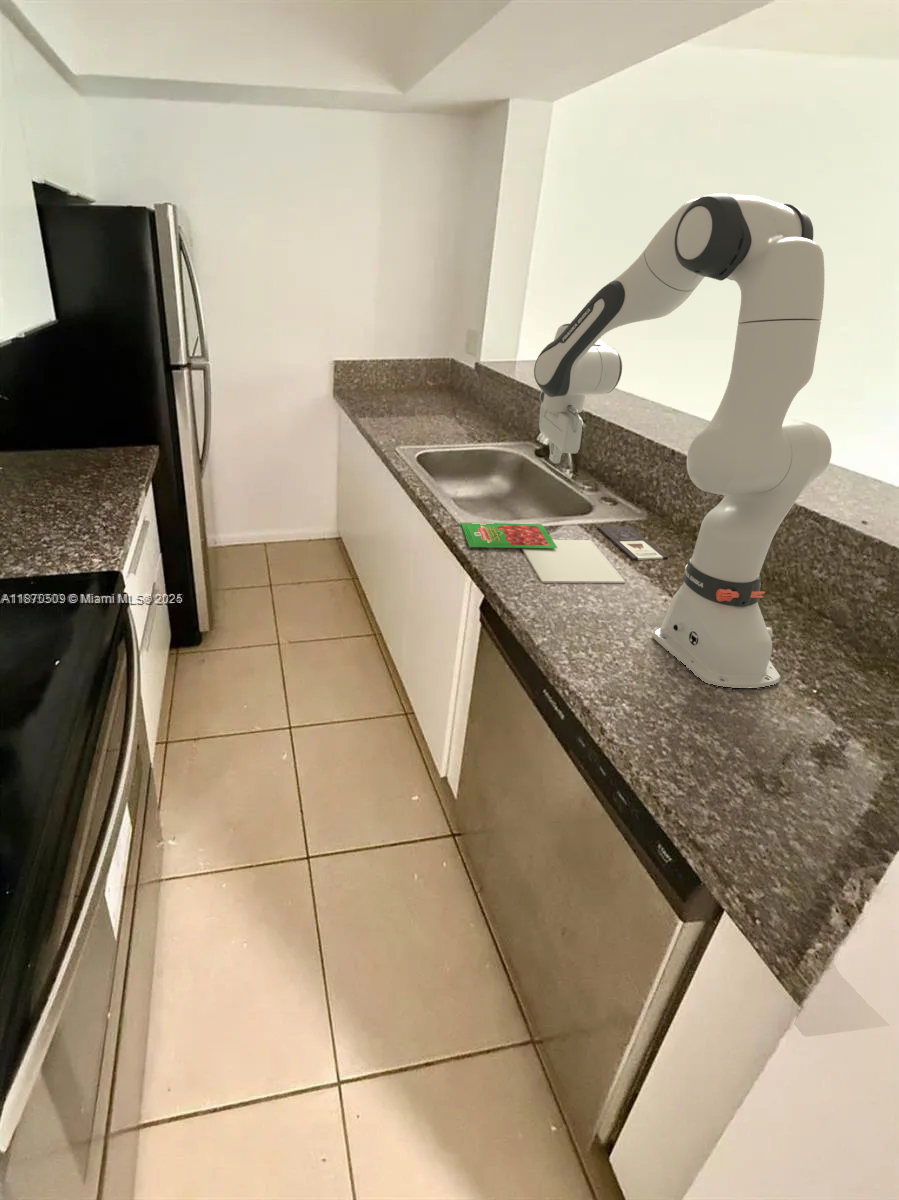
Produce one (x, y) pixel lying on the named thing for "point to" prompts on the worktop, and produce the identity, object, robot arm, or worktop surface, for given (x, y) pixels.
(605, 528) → the chocolate bar
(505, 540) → the tomato puree packet
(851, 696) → the worktop surface
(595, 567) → the rubber mat
